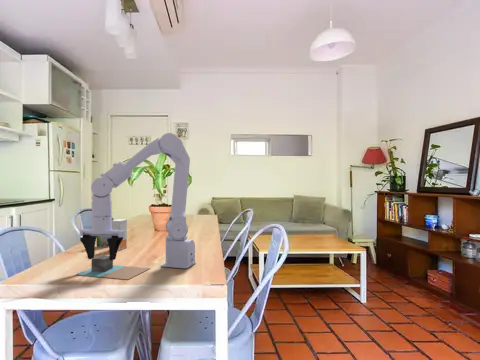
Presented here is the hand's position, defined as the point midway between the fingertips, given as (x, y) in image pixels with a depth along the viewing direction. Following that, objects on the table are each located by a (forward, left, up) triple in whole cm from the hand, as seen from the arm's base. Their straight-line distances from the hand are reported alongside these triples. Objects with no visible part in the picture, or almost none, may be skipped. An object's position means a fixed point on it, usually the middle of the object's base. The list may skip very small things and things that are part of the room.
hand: (101, 259), depth 104 cm
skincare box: (+15, -29, -4) cm, 33 cm away
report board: (-4, 0, -4) cm, 6 cm away
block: (0, 0, -3) cm, 4 cm away
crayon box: (+24, -33, -4) cm, 41 cm away
